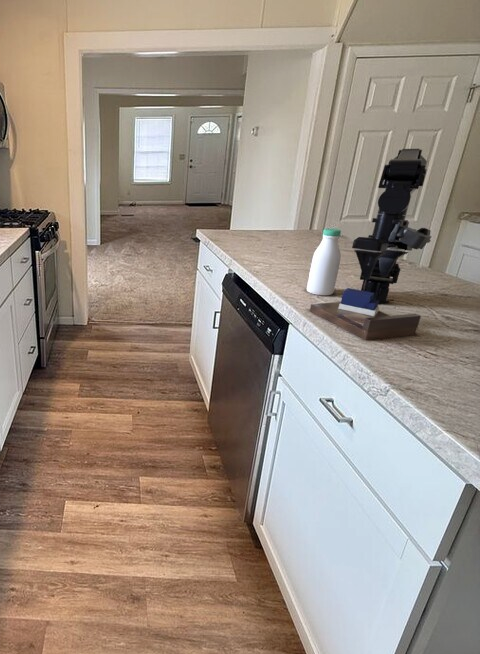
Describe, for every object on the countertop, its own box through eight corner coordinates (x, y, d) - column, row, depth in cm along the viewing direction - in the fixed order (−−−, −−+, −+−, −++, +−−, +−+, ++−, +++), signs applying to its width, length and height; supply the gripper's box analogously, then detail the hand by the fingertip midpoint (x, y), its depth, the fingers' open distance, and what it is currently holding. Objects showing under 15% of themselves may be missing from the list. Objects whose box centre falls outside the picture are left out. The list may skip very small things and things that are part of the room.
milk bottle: (338, 295, 125) (352, 231, 118) (313, 296, 125) (326, 231, 118) (325, 288, 132) (338, 227, 125) (301, 288, 133) (313, 227, 125)
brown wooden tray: (309, 310, 114) (312, 294, 112) (352, 306, 116) (356, 290, 114) (365, 339, 96) (370, 320, 94) (415, 334, 98) (421, 315, 96)
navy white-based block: (338, 308, 110) (342, 291, 108) (343, 304, 112) (347, 287, 111) (374, 316, 104) (378, 298, 102) (378, 311, 107) (382, 294, 105)
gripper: (414, 215, 85) (395, 287, 90) (446, 218, 95) (427, 282, 100) (359, 212, 94) (343, 278, 99) (393, 215, 104) (378, 274, 109)
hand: (374, 278), depth 101 cm, fingers open, 9 cm apart
